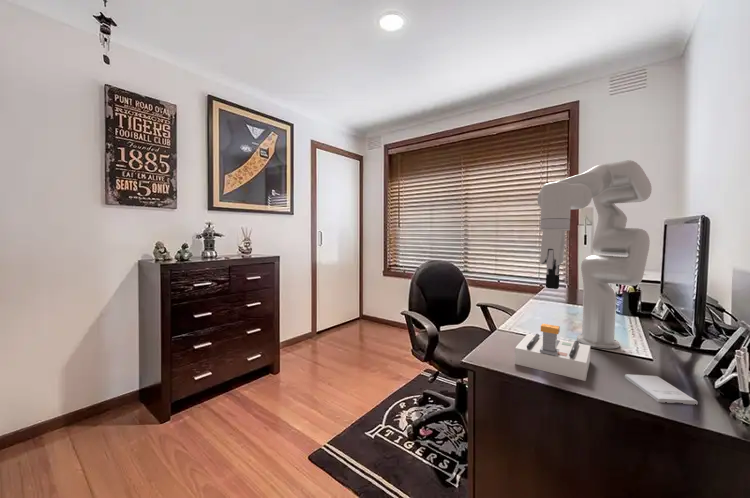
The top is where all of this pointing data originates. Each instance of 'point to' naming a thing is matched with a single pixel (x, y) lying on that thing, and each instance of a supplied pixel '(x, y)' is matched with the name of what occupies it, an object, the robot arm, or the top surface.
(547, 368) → the switch box
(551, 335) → the switch handle
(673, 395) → the external hard drive
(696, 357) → the top surface
